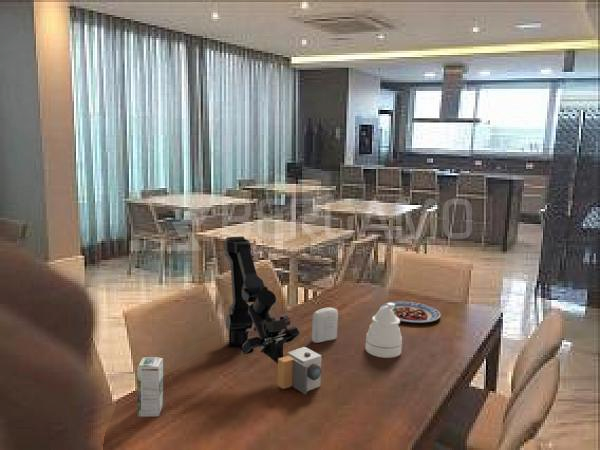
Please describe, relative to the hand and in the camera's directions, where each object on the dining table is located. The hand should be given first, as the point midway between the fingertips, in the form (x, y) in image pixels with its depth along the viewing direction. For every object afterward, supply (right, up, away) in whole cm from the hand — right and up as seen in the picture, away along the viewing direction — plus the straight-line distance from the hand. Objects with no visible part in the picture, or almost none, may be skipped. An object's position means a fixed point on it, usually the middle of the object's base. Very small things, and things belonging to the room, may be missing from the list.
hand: (282, 365), depth 152 cm
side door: (+3, -6, -3) cm, 7 cm away
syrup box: (-35, -8, -15) cm, 39 cm away
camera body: (+6, -6, +3) cm, 9 cm away
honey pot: (+35, -3, +30) cm, 47 cm away
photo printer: (+15, -1, +38) cm, 40 cm away
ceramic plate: (+53, +3, +67) cm, 86 cm away
